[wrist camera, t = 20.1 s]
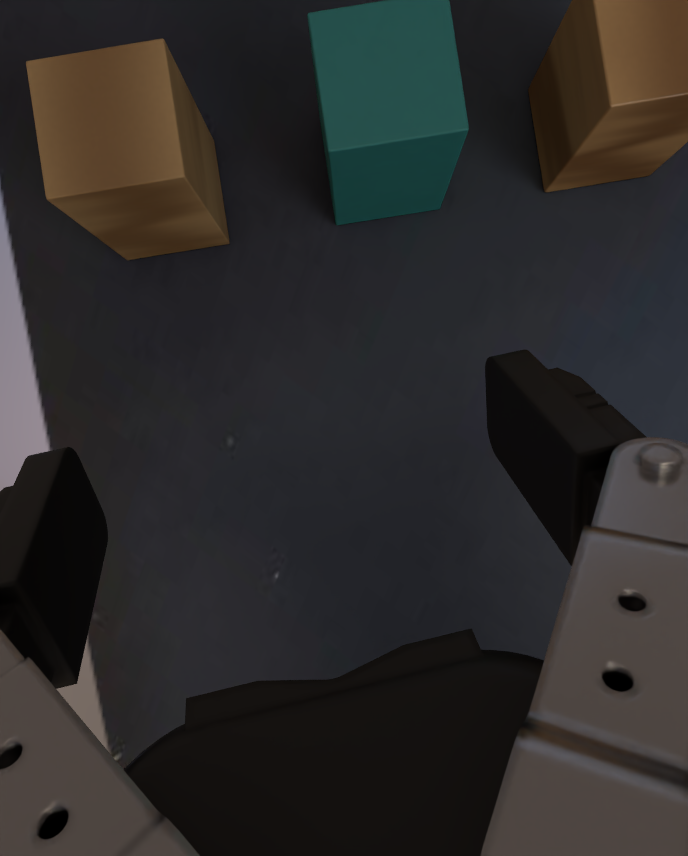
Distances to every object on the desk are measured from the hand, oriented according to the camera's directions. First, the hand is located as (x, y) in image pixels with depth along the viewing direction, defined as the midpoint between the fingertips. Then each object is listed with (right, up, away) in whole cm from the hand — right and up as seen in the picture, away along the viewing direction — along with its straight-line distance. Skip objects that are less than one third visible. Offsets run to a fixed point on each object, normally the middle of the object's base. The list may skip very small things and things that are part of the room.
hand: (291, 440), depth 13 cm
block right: (+13, +14, +18) cm, 26 cm away
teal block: (+3, +13, +18) cm, 22 cm away
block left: (-7, +11, +18) cm, 22 cm away
